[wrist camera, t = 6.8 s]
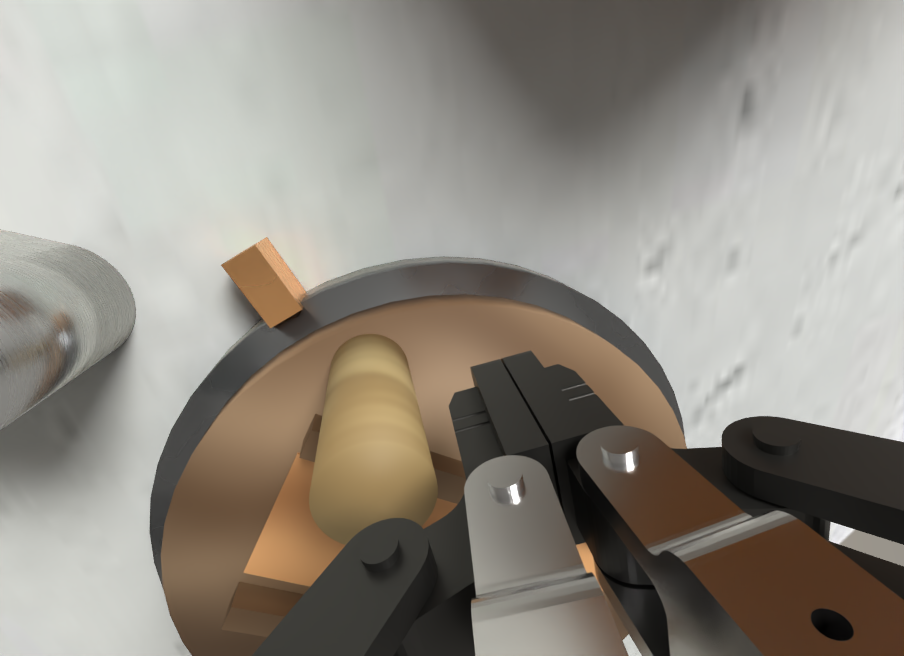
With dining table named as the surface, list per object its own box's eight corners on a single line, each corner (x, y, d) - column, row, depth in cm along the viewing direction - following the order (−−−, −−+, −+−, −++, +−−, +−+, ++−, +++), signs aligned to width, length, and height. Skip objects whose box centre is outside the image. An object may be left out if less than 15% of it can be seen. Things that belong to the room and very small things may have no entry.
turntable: (531, 724, 24) (602, 954, 17) (108, 669, 18) (-58, 992, 11) (752, 404, 19) (970, 532, 12) (298, 189, 13) (230, 206, 7)
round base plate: (572, 681, 26) (586, 716, 24) (141, 679, 20) (120, 725, 18) (740, 324, 20) (774, 338, 18) (204, 182, 14) (183, 183, 13)
